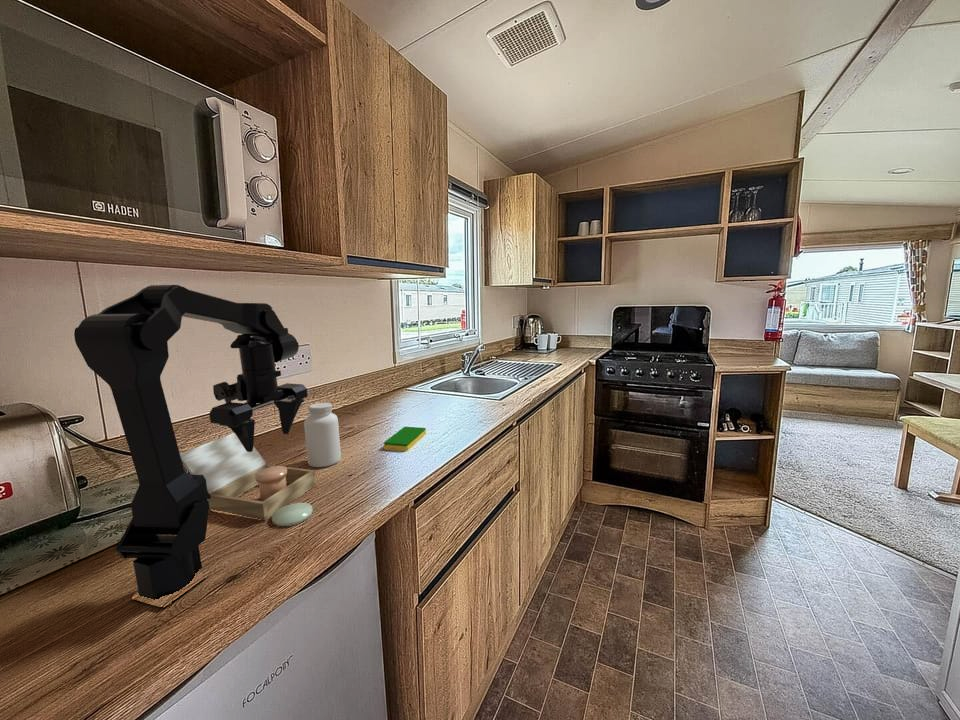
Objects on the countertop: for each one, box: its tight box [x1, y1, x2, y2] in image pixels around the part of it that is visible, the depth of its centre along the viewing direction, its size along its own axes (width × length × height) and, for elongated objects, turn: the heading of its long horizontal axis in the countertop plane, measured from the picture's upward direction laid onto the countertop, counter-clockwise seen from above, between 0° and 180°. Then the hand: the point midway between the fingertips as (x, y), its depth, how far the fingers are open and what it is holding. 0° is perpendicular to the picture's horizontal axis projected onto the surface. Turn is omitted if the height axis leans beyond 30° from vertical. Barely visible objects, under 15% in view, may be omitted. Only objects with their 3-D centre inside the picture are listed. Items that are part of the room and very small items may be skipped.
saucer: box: [271, 502, 314, 527], centre depth 73 cm, size 7×7×1 cm
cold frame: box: [180, 432, 317, 521], centre depth 80 cm, size 14×20×11 cm
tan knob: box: [255, 465, 288, 501], centre depth 80 cm, size 6×6×6 cm
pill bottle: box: [303, 402, 342, 468], centre depth 97 cm, size 8×8×15 cm
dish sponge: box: [383, 426, 427, 452], centre depth 111 cm, size 7×14×2 cm, turn 166°
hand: (268, 442), depth 78 cm, fingers open, 9 cm apart
